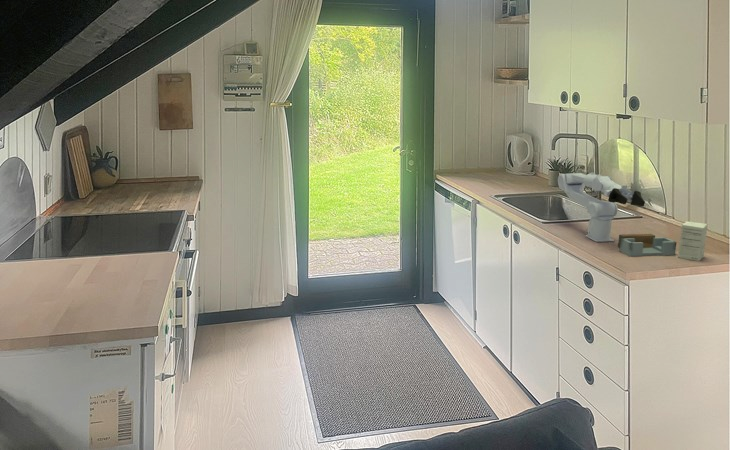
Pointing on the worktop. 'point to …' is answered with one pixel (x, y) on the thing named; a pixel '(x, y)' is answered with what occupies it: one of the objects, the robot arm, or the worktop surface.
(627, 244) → the green tray
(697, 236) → the supplement box
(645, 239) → the tan brown long block
